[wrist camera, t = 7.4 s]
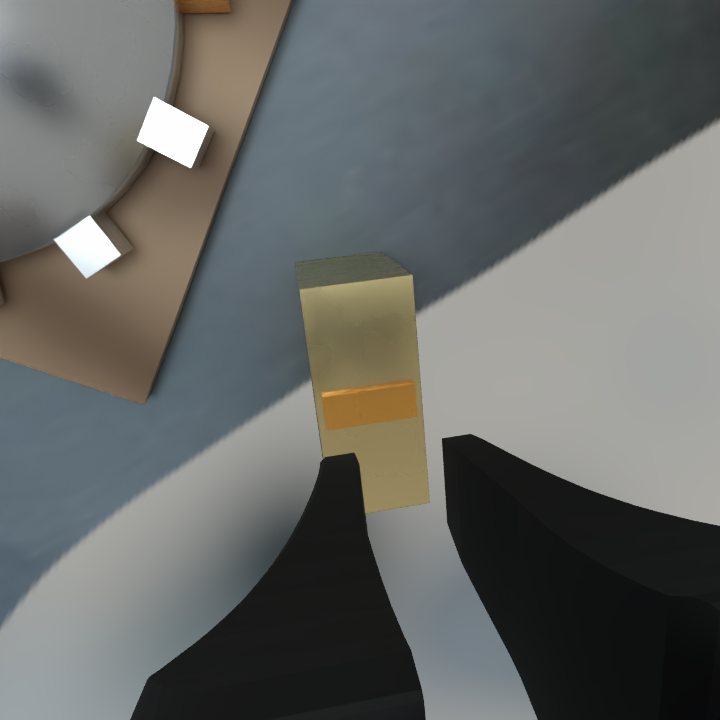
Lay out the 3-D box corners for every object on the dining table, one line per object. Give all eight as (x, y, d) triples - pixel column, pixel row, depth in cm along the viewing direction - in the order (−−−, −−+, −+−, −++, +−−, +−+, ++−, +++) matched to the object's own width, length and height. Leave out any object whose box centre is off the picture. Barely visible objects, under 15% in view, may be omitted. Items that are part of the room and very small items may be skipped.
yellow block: (397, 432, 22) (431, 506, 17) (320, 444, 22) (332, 523, 17) (380, 251, 20) (413, 276, 15) (294, 262, 19) (299, 290, 14)
